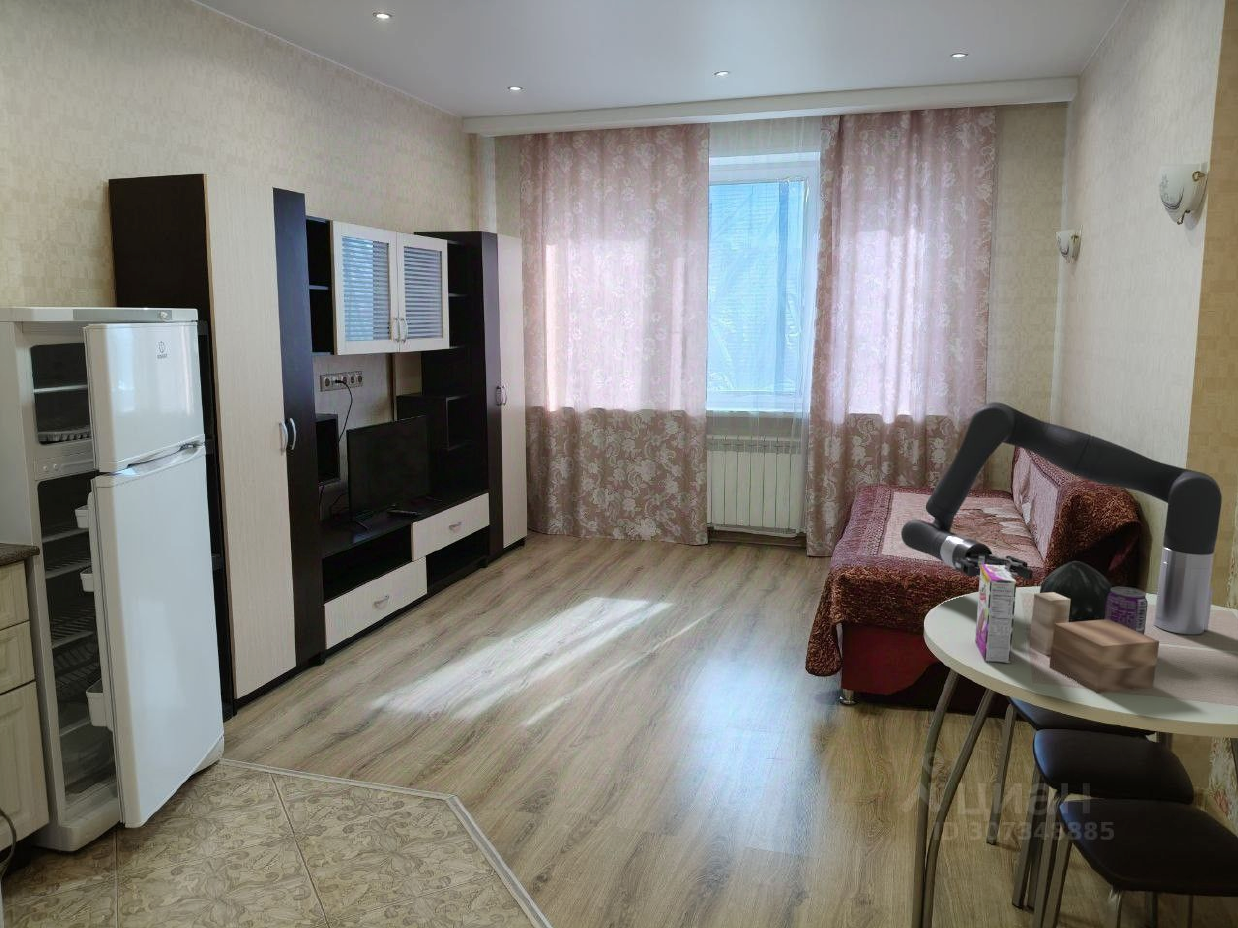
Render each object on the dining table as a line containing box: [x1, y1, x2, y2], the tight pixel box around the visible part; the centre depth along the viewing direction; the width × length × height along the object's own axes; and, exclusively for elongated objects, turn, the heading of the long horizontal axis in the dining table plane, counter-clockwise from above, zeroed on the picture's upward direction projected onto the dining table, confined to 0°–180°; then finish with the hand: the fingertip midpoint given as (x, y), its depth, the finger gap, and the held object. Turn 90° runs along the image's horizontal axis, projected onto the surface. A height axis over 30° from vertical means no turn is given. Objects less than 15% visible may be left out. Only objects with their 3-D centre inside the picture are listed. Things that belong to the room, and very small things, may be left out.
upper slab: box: [1052, 619, 1160, 671], centre depth 170 cm, size 12×12×4 cm
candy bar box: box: [974, 564, 1017, 664], centre depth 181 cm, size 11×5×16 cm, turn 168°
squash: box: [1039, 560, 1112, 622], centre depth 199 cm, size 14×15×15 cm
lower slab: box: [1049, 646, 1157, 694], centre depth 171 cm, size 12×12×4 cm
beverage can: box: [1105, 586, 1149, 635], centre depth 184 cm, size 7×7×12 cm
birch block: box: [1028, 592, 1071, 656], centre depth 183 cm, size 5×5×11 cm
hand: (1013, 576), depth 193 cm, fingers open, 8 cm apart
